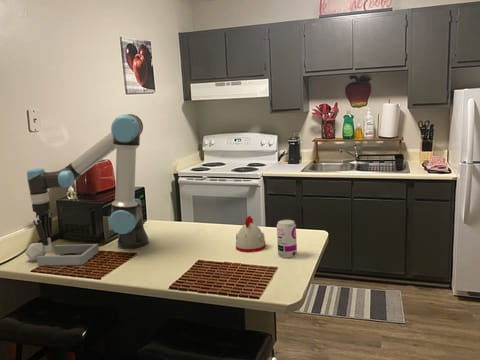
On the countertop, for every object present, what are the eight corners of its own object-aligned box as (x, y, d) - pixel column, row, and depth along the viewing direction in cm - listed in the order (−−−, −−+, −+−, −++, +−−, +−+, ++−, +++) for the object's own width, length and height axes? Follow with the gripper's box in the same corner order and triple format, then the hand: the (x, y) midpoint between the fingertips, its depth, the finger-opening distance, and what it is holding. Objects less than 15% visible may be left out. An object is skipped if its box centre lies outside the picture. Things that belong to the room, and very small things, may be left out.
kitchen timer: (231, 251, 204) (229, 219, 202) (242, 242, 217) (240, 212, 214) (260, 253, 199) (258, 220, 196) (269, 243, 211) (268, 213, 209)
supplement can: (299, 253, 196) (298, 219, 194) (293, 259, 189) (292, 225, 186) (281, 251, 200) (280, 218, 197) (275, 257, 192) (273, 224, 190)
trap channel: (99, 251, 216) (98, 243, 215) (83, 264, 199) (82, 256, 198) (56, 252, 218) (55, 245, 217) (37, 265, 201) (36, 257, 201)
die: (34, 265, 204) (45, 246, 206) (18, 256, 205) (30, 237, 206) (42, 265, 212) (53, 247, 214) (27, 256, 213) (38, 238, 215)
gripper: (40, 199, 212) (48, 247, 216) (24, 206, 199) (33, 256, 203) (55, 198, 211) (63, 246, 215) (40, 205, 198) (49, 255, 202)
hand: (48, 251), depth 209 cm, fingers closed
